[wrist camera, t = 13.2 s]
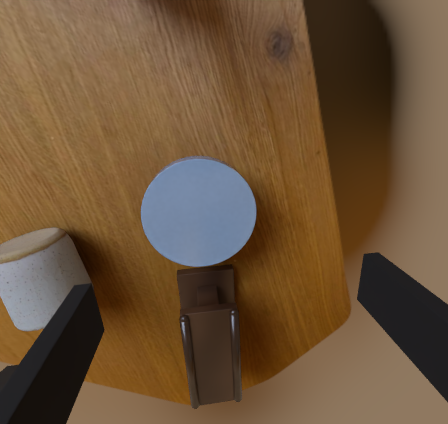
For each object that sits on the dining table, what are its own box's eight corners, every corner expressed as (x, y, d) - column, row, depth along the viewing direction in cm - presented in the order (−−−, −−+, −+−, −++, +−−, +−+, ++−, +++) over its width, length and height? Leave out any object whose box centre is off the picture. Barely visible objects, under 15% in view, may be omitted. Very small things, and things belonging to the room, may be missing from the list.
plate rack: (232, 263, 34) (242, 302, 27) (236, 356, 40) (246, 408, 33) (177, 269, 33) (173, 311, 26) (189, 362, 39) (189, 417, 32)
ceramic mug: (76, 217, 29) (38, 250, 22) (104, 277, 32) (78, 324, 25) (-18, 239, 29) (-88, 280, 22) (18, 298, 32) (-32, 351, 25)
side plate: (251, 151, 26) (256, 154, 24) (252, 251, 30) (256, 260, 28) (135, 159, 25) (131, 163, 23) (152, 261, 29) (150, 272, 27)
